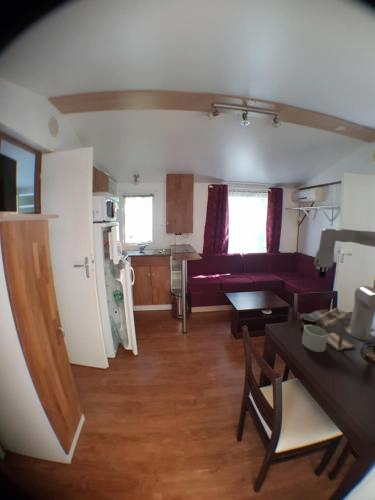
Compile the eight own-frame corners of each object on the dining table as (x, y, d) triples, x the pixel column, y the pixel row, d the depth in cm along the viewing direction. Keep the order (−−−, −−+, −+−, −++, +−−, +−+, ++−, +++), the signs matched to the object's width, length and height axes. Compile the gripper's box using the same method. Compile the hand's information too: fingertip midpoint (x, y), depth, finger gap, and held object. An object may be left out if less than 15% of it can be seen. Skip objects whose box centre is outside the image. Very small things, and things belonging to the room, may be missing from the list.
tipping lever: (331, 309, 117) (329, 301, 116) (354, 322, 104) (353, 312, 102) (308, 321, 115) (307, 312, 113) (330, 335, 102) (328, 325, 100)
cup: (312, 338, 113) (315, 323, 111) (329, 350, 103) (332, 335, 101) (297, 340, 111) (299, 325, 109) (313, 353, 100) (316, 337, 98)
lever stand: (332, 333, 118) (337, 309, 115) (355, 348, 105) (361, 321, 102) (317, 336, 115) (321, 311, 112) (338, 351, 102) (343, 323, 99)
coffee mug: (317, 336, 114) (320, 322, 112) (302, 334, 116) (304, 320, 114) (309, 326, 126) (311, 312, 124) (295, 324, 127) (297, 310, 125)
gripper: (330, 247, 120) (325, 274, 123) (311, 248, 116) (306, 276, 120) (342, 249, 112) (336, 278, 116) (322, 250, 109) (317, 279, 113)
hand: (321, 277), depth 118 cm, fingers closed
